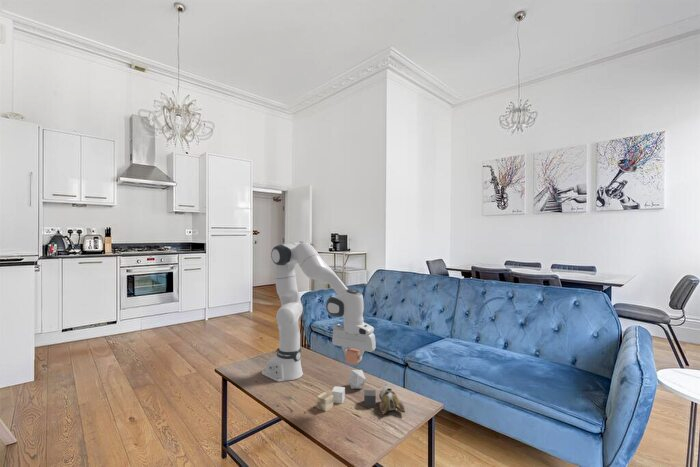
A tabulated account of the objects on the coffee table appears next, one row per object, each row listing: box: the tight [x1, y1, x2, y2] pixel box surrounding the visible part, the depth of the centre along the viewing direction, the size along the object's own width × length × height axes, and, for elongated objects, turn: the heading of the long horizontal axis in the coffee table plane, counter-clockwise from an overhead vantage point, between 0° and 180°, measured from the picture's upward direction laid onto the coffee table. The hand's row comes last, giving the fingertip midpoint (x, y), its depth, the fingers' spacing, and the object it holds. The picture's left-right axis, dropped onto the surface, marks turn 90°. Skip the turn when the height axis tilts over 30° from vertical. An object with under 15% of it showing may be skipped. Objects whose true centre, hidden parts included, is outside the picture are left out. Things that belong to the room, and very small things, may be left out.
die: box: [348, 369, 367, 390], centre depth 157 cm, size 8×9×10 cm
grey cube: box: [331, 385, 346, 404], centre depth 145 cm, size 5×5×5 cm
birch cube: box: [316, 391, 334, 412], centre depth 139 cm, size 5×5×5 cm
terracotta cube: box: [345, 348, 362, 366], centre depth 141 cm, size 5×5×5 cm
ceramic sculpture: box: [378, 383, 406, 415], centre depth 139 cm, size 11×9×15 cm
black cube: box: [363, 389, 377, 408], centre depth 142 cm, size 5×5×5 cm
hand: (353, 357), depth 141 cm, fingers closed on terracotta cube, 5 cm apart
